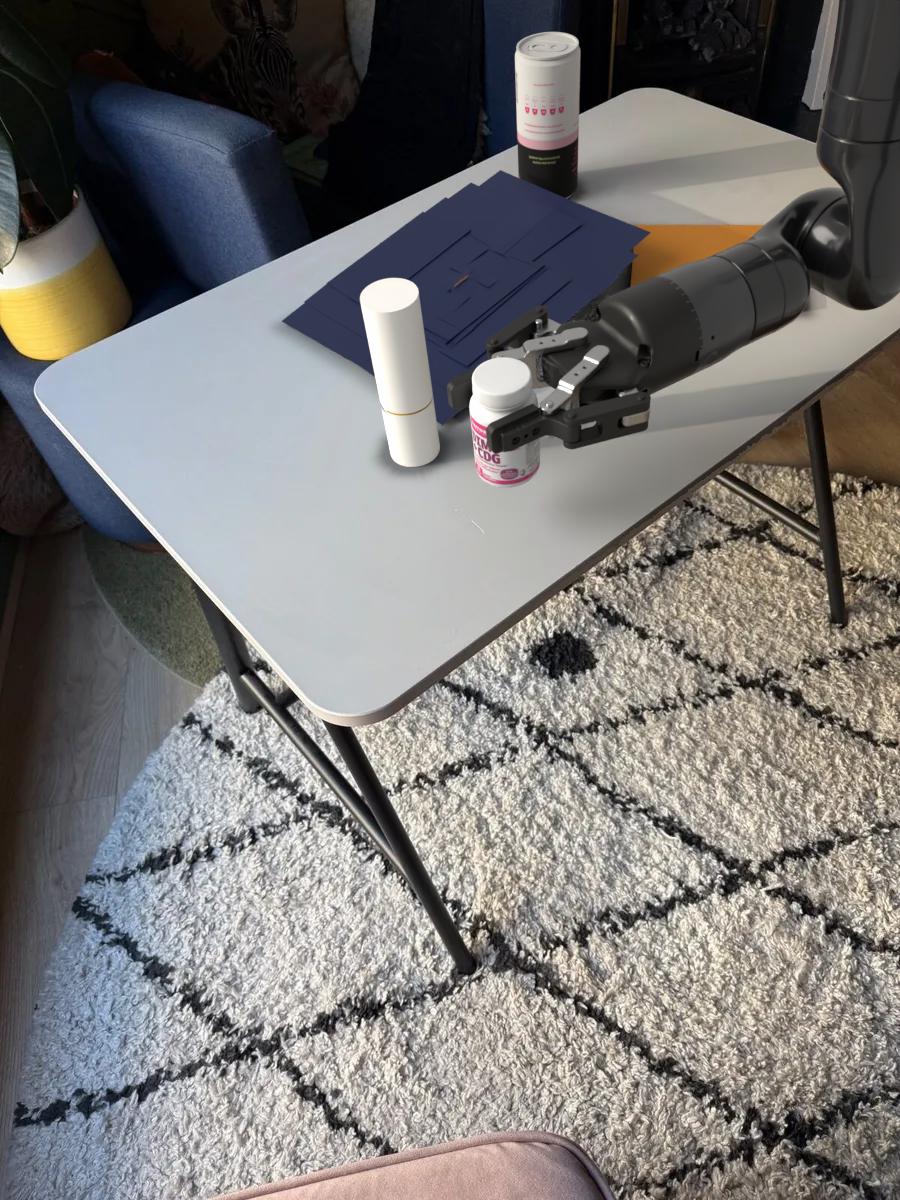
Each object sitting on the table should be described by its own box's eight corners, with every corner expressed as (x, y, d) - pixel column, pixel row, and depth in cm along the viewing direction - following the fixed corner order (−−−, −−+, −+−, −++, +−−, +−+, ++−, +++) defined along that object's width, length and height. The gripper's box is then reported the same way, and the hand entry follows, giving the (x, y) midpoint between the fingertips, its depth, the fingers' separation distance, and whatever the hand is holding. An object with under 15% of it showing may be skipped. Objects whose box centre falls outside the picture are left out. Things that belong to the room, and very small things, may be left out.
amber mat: (793, 230, 90) (794, 224, 89) (803, 311, 81) (804, 306, 81) (634, 229, 92) (635, 224, 92) (628, 308, 84) (629, 302, 84)
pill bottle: (466, 483, 64) (454, 391, 58) (489, 440, 67) (480, 348, 60) (527, 496, 63) (523, 403, 56) (548, 452, 65) (546, 358, 59)
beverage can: (528, 174, 102) (525, 29, 90) (583, 179, 100) (587, 32, 88) (511, 203, 98) (506, 56, 86) (568, 208, 96) (570, 59, 84)
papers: (666, 263, 86) (667, 230, 83) (450, 448, 78) (442, 419, 75) (491, 188, 98) (486, 157, 95) (288, 341, 90) (276, 312, 87)
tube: (450, 446, 75) (430, 290, 63) (415, 474, 73) (388, 319, 61) (415, 425, 77) (389, 271, 65) (380, 452, 75) (347, 298, 63)
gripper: (615, 237, 64) (413, 321, 61) (748, 329, 56) (523, 435, 52) (611, 324, 70) (426, 406, 66) (730, 420, 62) (527, 520, 58)
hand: (470, 418), depth 59 cm, fingers closed on pill bottle, 4 cm apart
